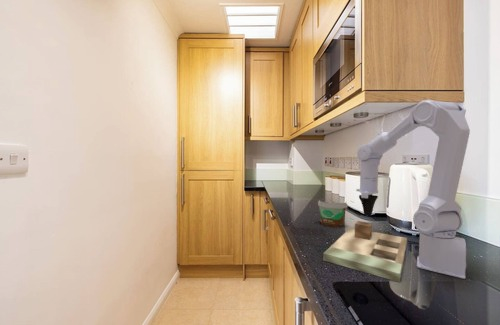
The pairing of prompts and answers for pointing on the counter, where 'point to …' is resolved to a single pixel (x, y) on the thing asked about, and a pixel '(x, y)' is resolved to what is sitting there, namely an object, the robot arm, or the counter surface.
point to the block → (363, 230)
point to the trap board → (369, 254)
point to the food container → (332, 213)
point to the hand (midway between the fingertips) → (367, 215)
